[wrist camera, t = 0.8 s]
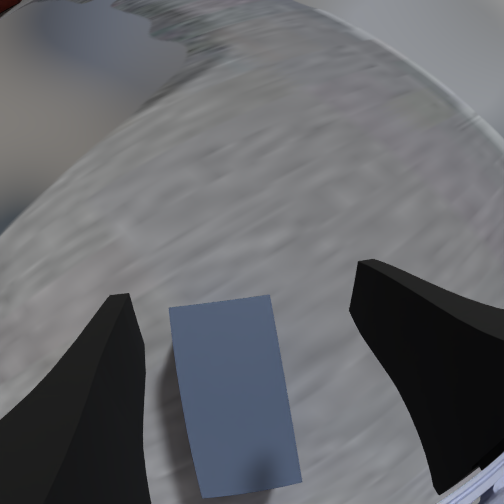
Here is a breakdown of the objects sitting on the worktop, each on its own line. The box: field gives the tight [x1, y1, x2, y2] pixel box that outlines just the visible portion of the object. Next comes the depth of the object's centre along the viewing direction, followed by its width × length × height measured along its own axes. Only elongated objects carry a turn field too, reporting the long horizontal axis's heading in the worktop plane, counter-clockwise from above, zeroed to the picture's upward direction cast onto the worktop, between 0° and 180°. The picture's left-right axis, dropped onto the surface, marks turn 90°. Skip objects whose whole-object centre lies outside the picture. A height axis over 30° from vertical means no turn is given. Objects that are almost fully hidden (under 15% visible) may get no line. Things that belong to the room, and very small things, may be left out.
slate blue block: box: [169, 295, 302, 498], centre depth 18 cm, size 12×6×5 cm, turn 9°
